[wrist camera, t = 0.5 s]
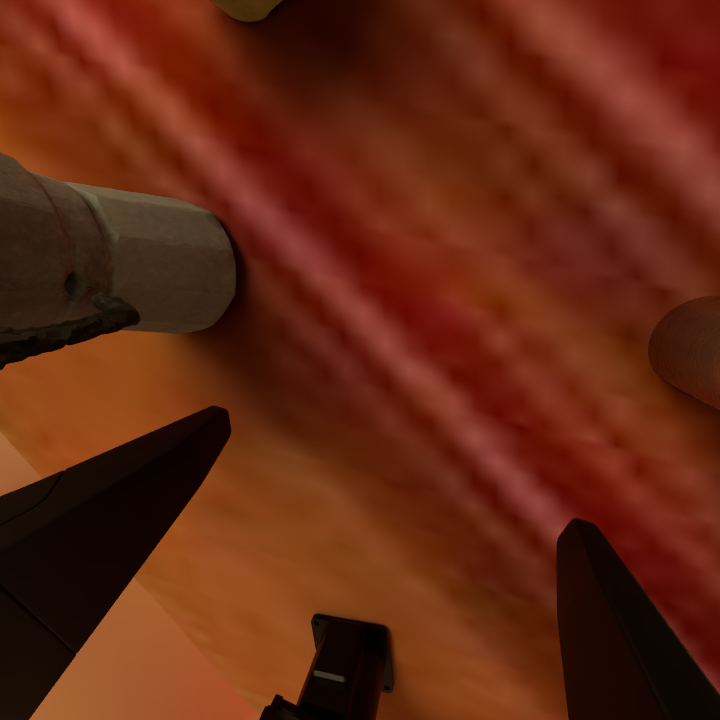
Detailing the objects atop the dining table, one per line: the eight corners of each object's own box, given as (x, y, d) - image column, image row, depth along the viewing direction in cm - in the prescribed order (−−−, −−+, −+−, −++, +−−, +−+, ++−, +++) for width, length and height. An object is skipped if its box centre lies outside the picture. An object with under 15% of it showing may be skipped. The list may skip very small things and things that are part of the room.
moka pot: (119, 164, 24) (-1009, -228, 6) (306, 237, 21) (-810, -98, 3) (103, 292, 27) (-688, 305, 9) (266, 372, 24) (-414, 661, 6)
